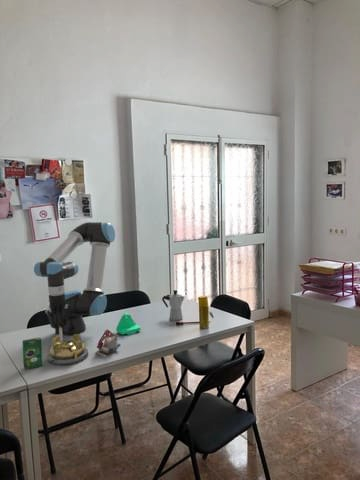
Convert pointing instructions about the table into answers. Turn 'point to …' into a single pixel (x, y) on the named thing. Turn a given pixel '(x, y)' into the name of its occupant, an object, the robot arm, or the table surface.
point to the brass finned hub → (67, 348)
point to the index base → (68, 361)
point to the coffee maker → (174, 305)
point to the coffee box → (32, 353)
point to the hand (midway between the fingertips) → (60, 340)
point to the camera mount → (127, 325)
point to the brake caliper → (108, 343)
